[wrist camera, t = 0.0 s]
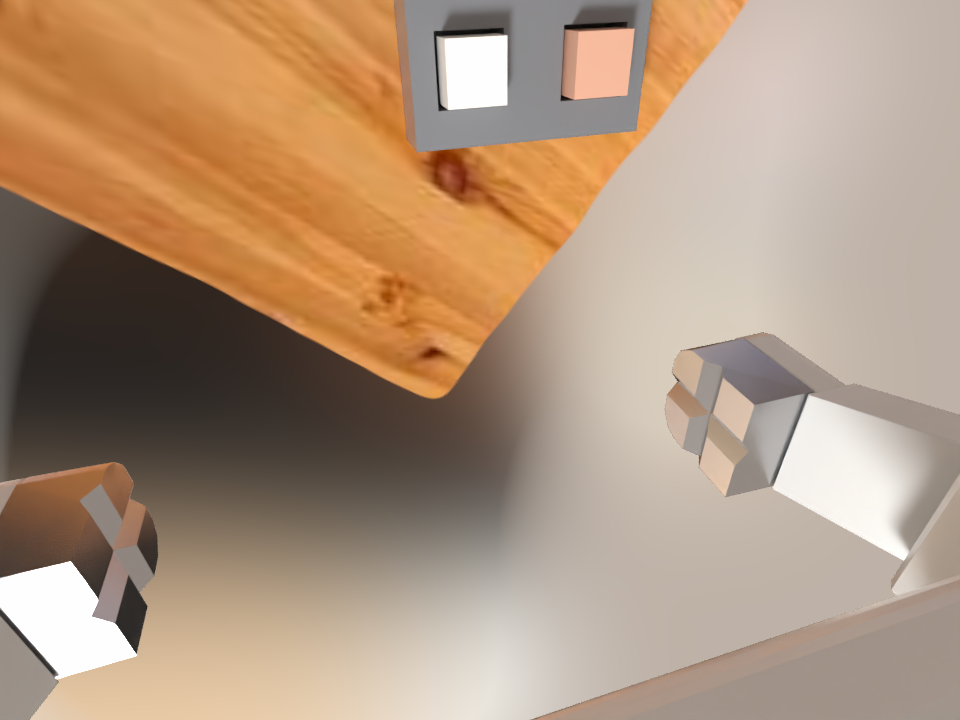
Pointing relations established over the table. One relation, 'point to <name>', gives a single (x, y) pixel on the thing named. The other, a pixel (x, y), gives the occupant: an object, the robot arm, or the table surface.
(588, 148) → the table surface
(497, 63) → the white key
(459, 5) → the console
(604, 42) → the terracotta key
